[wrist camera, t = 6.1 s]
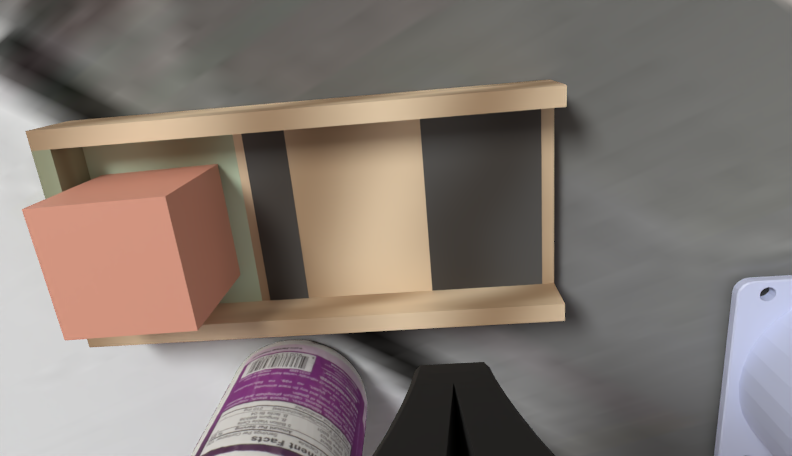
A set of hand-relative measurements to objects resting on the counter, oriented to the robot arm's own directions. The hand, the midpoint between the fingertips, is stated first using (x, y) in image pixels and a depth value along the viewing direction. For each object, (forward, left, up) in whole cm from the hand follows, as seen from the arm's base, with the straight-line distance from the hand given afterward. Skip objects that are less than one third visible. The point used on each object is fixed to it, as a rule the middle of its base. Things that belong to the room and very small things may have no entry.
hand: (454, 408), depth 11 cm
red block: (+9, -1, -9) cm, 13 cm away
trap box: (+4, -2, -9) cm, 10 cm away
